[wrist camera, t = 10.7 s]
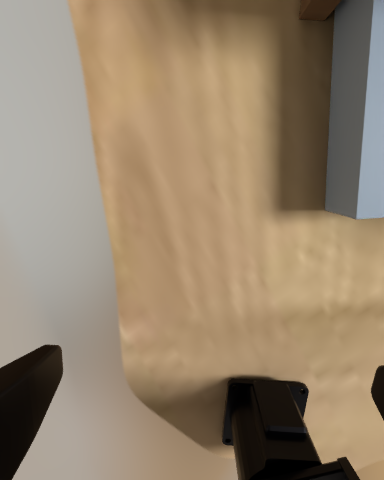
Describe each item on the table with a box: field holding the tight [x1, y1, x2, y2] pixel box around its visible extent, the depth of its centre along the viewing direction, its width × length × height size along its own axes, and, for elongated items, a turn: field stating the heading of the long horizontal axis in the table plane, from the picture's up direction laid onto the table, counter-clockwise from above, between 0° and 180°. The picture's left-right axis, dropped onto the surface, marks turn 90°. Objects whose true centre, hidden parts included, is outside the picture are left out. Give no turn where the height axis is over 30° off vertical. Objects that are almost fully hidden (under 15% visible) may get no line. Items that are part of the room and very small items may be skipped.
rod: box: [325, 0, 384, 219], centre depth 15 cm, size 16×4×4 cm, turn 4°
